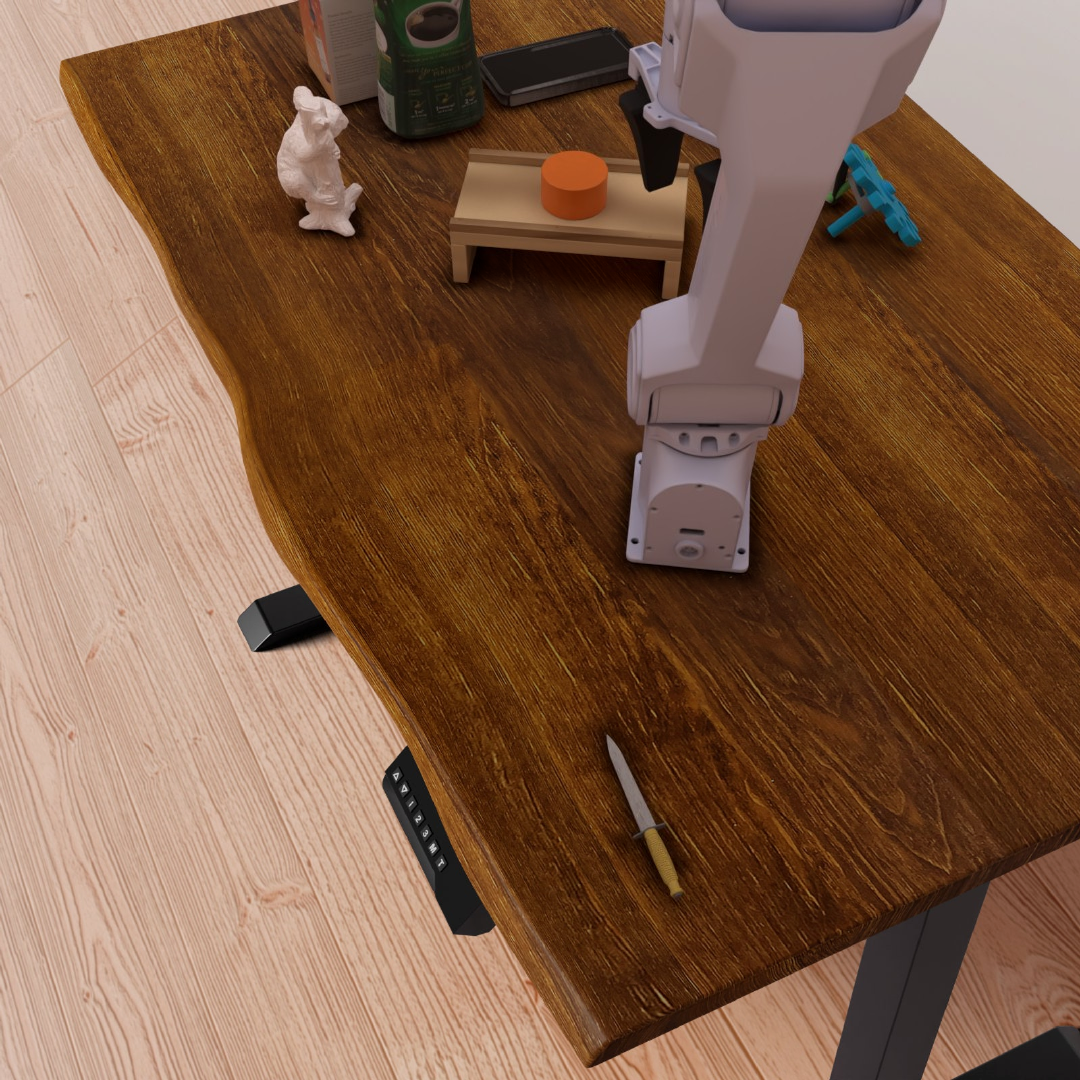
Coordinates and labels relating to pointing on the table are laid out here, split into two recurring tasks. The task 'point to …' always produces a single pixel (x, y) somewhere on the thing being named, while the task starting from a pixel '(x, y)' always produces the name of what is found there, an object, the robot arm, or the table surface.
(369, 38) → the small box
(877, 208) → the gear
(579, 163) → the disc
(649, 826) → the dagger
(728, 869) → the table surface
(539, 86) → the phone
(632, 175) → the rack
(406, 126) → the coffee jar
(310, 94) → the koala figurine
